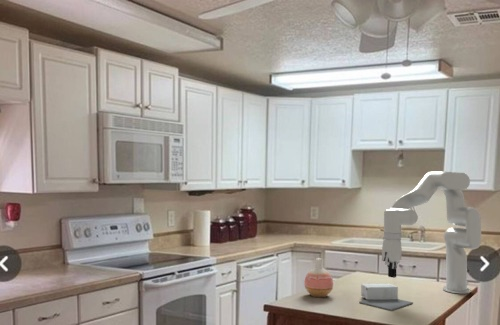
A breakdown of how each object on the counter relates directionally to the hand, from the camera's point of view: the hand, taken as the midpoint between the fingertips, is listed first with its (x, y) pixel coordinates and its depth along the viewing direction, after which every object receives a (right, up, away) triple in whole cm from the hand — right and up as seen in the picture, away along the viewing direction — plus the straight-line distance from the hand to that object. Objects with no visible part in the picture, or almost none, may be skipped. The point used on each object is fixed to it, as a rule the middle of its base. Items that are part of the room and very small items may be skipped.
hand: (392, 276), depth 213 cm
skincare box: (+3, -8, +5) cm, 10 cm away
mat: (-4, -11, -4) cm, 12 cm away
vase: (-32, -11, +8) cm, 35 cm away
